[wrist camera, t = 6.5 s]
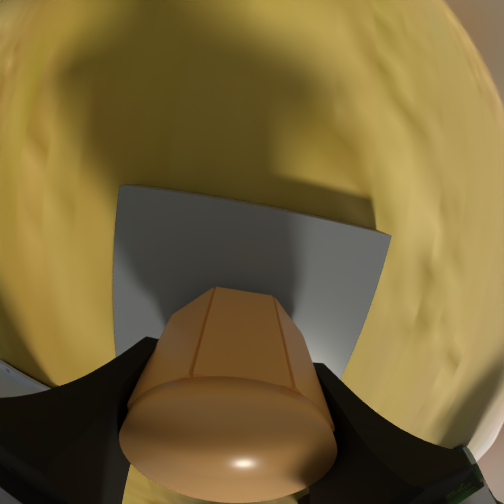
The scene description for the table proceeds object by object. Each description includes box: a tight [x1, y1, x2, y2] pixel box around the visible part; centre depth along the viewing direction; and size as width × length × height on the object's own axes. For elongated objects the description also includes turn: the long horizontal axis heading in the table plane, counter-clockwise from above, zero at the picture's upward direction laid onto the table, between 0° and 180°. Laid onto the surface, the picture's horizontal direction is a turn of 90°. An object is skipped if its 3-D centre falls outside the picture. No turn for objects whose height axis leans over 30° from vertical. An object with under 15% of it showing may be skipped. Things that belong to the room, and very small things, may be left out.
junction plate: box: [113, 184, 391, 379], centre depth 11 cm, size 12×12×6 cm
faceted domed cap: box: [119, 287, 337, 503], centre depth 8 cm, size 6×6×6 cm
